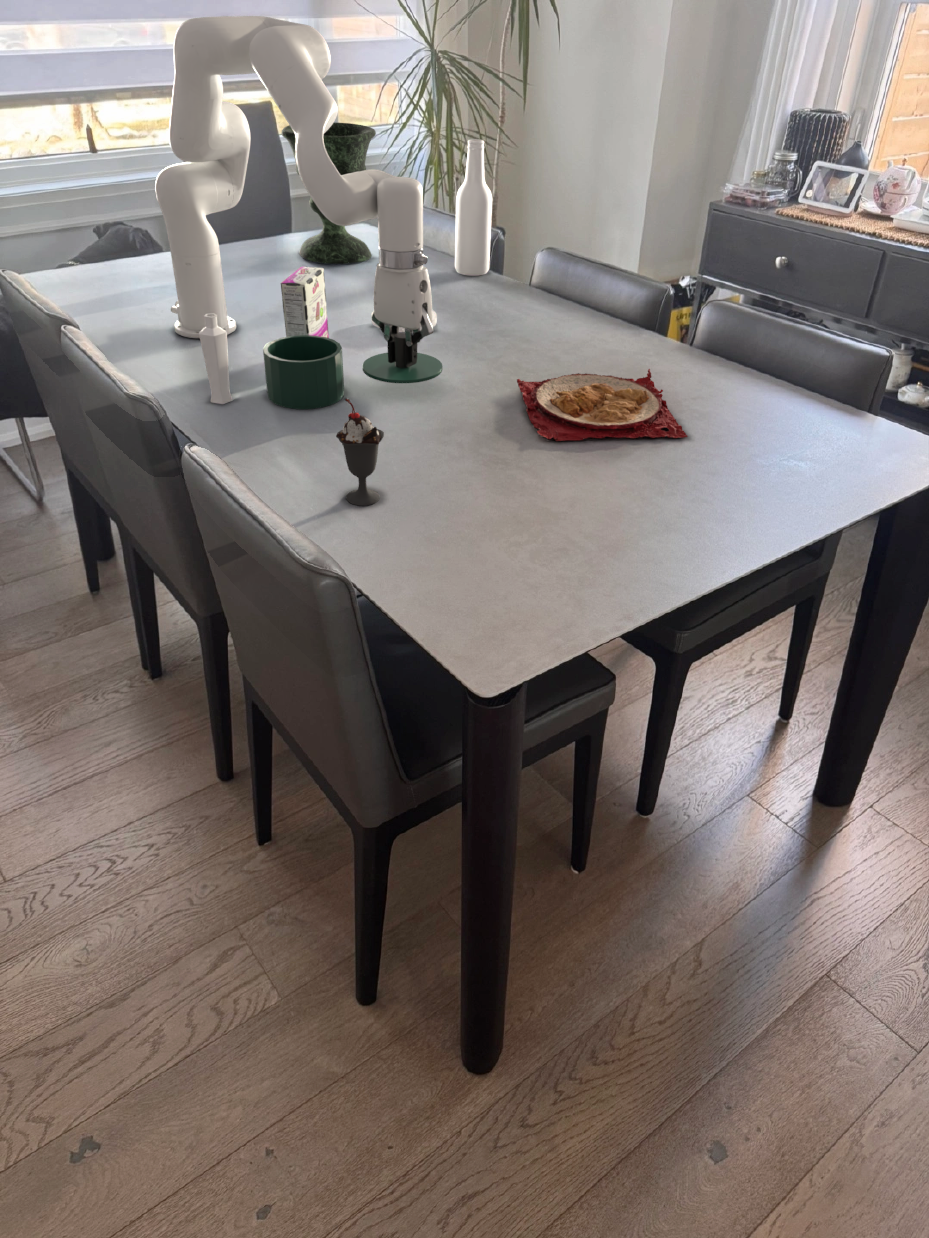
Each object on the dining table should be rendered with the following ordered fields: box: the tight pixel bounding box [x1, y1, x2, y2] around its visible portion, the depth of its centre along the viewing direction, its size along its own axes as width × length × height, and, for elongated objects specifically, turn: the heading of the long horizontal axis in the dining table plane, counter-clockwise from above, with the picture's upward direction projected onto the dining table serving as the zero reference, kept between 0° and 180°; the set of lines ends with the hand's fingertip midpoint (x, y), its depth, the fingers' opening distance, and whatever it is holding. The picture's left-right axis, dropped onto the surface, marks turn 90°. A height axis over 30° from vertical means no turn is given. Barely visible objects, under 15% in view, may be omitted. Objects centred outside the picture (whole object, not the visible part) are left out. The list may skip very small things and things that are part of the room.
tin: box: [262, 335, 345, 410], centre depth 164 cm, size 14×14×8 cm
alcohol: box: [454, 138, 493, 277], centre depth 225 cm, size 9×9×30 cm
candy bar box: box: [280, 266, 330, 339], centre depth 175 cm, size 11×5×16 cm, turn 168°
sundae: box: [335, 398, 385, 507], centre depth 131 cm, size 7×7×15 cm
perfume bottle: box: [199, 313, 234, 405], centre depth 159 cm, size 5×4×15 cm
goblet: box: [281, 121, 377, 265], centre depth 233 cm, size 22×22×30 cm
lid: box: [361, 332, 444, 384], centre depth 166 cm, size 15×15×7 cm
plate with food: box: [516, 368, 689, 442], centre depth 162 cm, size 24×26×4 cm
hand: (402, 362), depth 167 cm, fingers closed on lid, 2 cm apart
